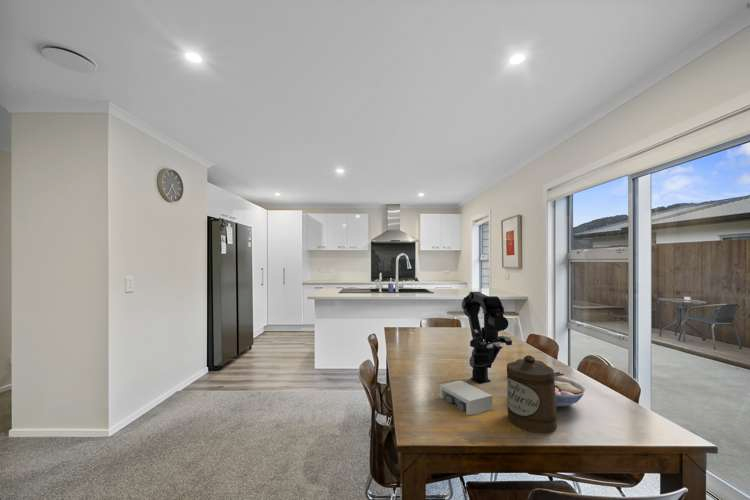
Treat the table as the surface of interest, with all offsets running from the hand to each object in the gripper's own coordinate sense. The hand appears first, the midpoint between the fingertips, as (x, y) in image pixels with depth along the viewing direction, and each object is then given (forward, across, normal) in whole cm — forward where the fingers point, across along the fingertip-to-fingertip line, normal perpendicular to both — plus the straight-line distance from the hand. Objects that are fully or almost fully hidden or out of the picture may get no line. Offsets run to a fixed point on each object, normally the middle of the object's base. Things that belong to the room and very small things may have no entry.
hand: (491, 362), depth 131 cm
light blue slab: (+12, +16, +4) cm, 21 cm away
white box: (+12, +18, +4) cm, 22 cm away
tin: (+12, -30, -5) cm, 33 cm away
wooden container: (+12, +8, +25) cm, 29 cm away
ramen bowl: (+12, -12, +18) cm, 25 cm away
